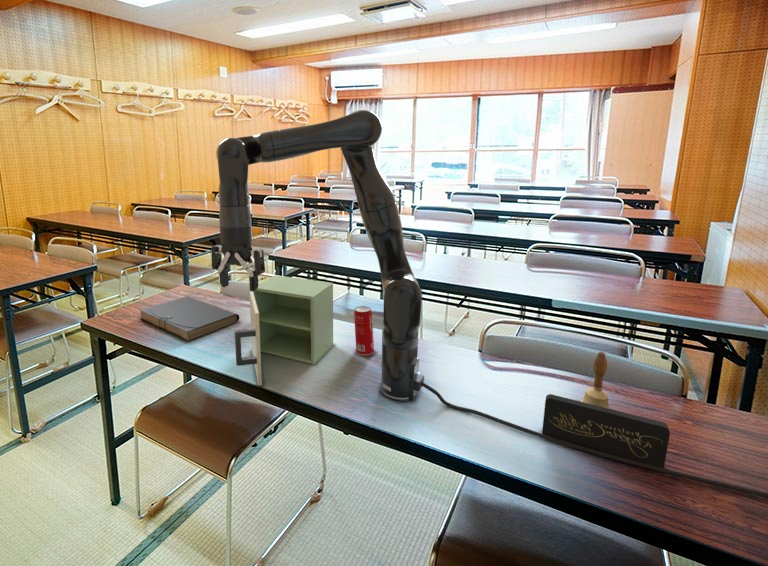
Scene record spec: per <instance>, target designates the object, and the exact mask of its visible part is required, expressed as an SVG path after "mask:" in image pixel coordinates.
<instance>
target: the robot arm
mask: <svg viewBox="0 0 768 566" xmlns="http://www.w3.org/2000/svg"><path fill="white" fill-rule="evenodd" d="M382 131H383V124H382V121H381V119H380V118H379V116H378V115H377V114H375V112H372V111H370V110H368V109H359V110H355V111H352V112H351V113H349V114H347V115H343V116H341V117H338V118H335V119H331V120H328V121H323V122H319V123H315V124H314V123H313V124H308V125H301V126H295V127H288V128H282V129H281V128H280V129H276V130H270V131H264V132H261V133H258V134H254V135H247V136H239V137H228V138H225V139H223V140H222V141H220V142H219V143H218V145H217V147H216V149H215V158H216V160H217V168H218V177H219V183H218V199H219V200H218V203H219V211H218V221H219V235H220V236H219V237H220V243H221V244H215V245H213V246H211V269H212V270H216V271H217V272H218V275H219V284H220V286H221V288H227V287H228V286H229V284H230V281H229V279H230V278H229V271H228V269H229V267H230V266H237V267H242V269H243V270H245V271H246V273H247V274H248V275H249V277H248V282H249V283H248V285H249V289H250V291H252V292H253V291H255V290H257V288H258V284H259V276H260V275H262V274H264V273H266V265H265V264H266V263H265V253H264V249H263V248H262V247H261V248H258V249H253V247H252V240H253V233H252V216H251V215H252V213H251V207H250V194H249V193H250V191H249V184H248V180H249V165H251V166H252V165H255V164H259V163H274V162H279V161H285V160H289V159H294V158H297V157H298V158H299V157H302V156H305V155H309V154H313V153H316V152H320V151H325V150H330V149H340V151H341V153H342V155H343V158H344V161H345V163H346V165H347V168H348V170H349V174H350V177H351V182H352V186H353V189H354V190H353V191H354V193H355V197H356V201H357V205H358V210H359V212H360V217H361V220H362V223H363V226H364V230H365V232H366V235H367V237H368V240H369V242H370V245H371V247H372V248H373V251H374V253H375V255H376V258H377V262H378V267H379V273H380V277H381V285H382V293H383V294H382V295H383V313H382V315H383V317H382V324H381V325H382V331H381V332H382V333H381V334H382V335H381V336H382V337H381V378H380V379H381V382H380V392H381V394H382V395H383V396H384V397H386V398H388V399H391V400H393V401H400V402H404V401H405V402H407V401H411V402H413V401H414V400H415V398H416V396H417V394H418V392H421V389H422V388H424V389H426V390H428V391H430V392H431V393H432V394H434V395H435V396H436V397H437V398H438V400H439V401H440V402H441V404H443V405H444V406H446V407H448V408H450V409H453V410H456V411H460V412H465V413H469V414H472V415H476V416H479V417H481V418H484V419H488V420H491V421H493V422H495V423H499V424H500V425H503V426H506V427H508V428H512V429H515V430H517V431H521V432H523V433H526V434H529V435H532V436H534V437H538V438H540V439H543V440H545V441H550V442H553V443H556V444H559V445H562V446H565V447H569V448H572V449H575V450H578V451H581V452H584V453H588V454H592V455H595V456H599V457H602V458H606V459H609V460H612V461H616V462H620V463H622V464H623V463H624V464H628V465H632V466H634V467H639V468H643V469H646V470H650V471H653V470H654V471H653V472H657V471H658V473H662V474H666V475H670V476H674V477H678V478H683V479H686V480H691V481H695V482H700V483H704V484H708V485H712V486H715V487H720V488H725V489H728V490H732V491H737V492H740V493H741V492H742V493H745V494H750V495H754V496H758V497H763V498H766V499H768V492H766V491H763V490H759V489H755V488H752V487H751V488H750V487H746V486H742V485H737V484H733V483H730V482H724V481H720V480H716V479H712V478H708V477H703V476H698V475H694V474H690V473H686V472H682V471H678V470H673V469H670V468H666V467H664V468H660V467H656V466H653V465H649V464H646V463H642V462H638V461H634V460H630V459H626V458H623V457H619V456H615V455H612V454H608V453H604V452H601V451H597V450H594V449H590V448H587V447H583V446H580V445H577V444H573V443H570V442H567V441H564V440H560V439H557V438H554V437H551V436H548V435H545V434H542V432H538V431H536V430H532V429H529V428H527V427H524V426H521V425H518V424H515V423H511V422H509V421H507V420H504V419H501V418H498V417H496V416H492V415H491V414H488V413H484V412H482V411H479V410H475V409H472V408H468V407H464V406H463V407H462V406H458V405H454V404H452V403H450V402H449V401H447V400H446V399H444V397H443V396H442V395H441V394H440V393H439V392H438V391H437V390H436V389H435V388H433V387H432V386H430V385H428V384H427V383H425V375H423V374H420V358H419V357H418V356H419V355H418V353H419V351H418V350H419V331H420V326H421V318H422V317H421V316H422V299H423V298H422V296H423V295H422V289H421V286H420V285H419V283H418V280H417V278H416V277H415V275H414V272H413V270H412V268H411V265H410V262H409V260H408V257H407V254H406V251H405V250H406V249H405V245H404V234H403V226H402V225H403V224H402V220H401V219H402V218H401V216H400V211H399V208H398V203H397V201H396V197H395V194H394V193H393V191H392V189H391V187H390V186H389V184H388V182H387V180H386V179H385V177H384V176H383V174H382V173H381V171H380V169H379V167H378V165H377V162H376V158H375V154H374V149H373V146H374V145H375V144H376V143H377V142H378V141H379V139H380V138H381V136H382ZM222 255H223V256H224V257H223V258H222Z"/></svg>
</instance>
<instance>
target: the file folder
mask: <svg viewBox="0 0 768 566" xmlns="http://www.w3.org/2000/svg"><path fill="white" fill-rule="evenodd" d="M139 311H140V320H143V321H145V322H147V323H148V324H151V325H153V326H155V327H157V328H159V329H161V330H163V331H166V332H167V333H170V334H172V335H173V336H176V337H178V338H180V339H182V340H184V341H187V342H190V341H192V340H196V339H197V338H200V337H203V336H205V335H208V334H210V333H213V332H216V331H218V330H220V329H223V328H225V327H228V326H231V325H233V324H235V323H238V322H239V320H240V314H238V313H235V312H233V311H229V310H227V309H224V308H222V307H218V306H216V305H213V304H210V303H207V302H204V301H202V300H199V299H197V298H193V297H190V296H183V297H179V298H176V299H172V300H169V301H165V302H162V303H158V304H155V305H152V306H149V307H146V308H142V309H140V310H139ZM143 317H144V318H143Z"/></svg>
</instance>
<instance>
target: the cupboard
mask: <svg viewBox="0 0 768 566" xmlns="http://www.w3.org/2000/svg"><path fill="white" fill-rule="evenodd" d="M253 293H254V297H255V301H256V304H257V308H258V312H259V328H260V352H261V353H265V354H269V355H274V356H279V357H282V358H287V359H290V360H295V361H299V362H303V363H308V364H311V365H315V364H316V363H318V361H319V360H321V358H322V357H323V356H324V355H325V354H326V353H327V352H328V351H329V350H330V349H331V348H332V347H333V346H334V283H333V282H328V281H322V280H314V279H306V278H298V277H292V276H285V275H277V274H276V275H274V276H271V277H269V278H268V279H265V280H264V281H261V282H260V283H259V282H258V288H257V290H255V291H253Z"/></svg>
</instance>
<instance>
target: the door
mask: <svg viewBox="0 0 768 566" xmlns="http://www.w3.org/2000/svg"><path fill="white" fill-rule="evenodd" d="M248 293H249V310H250V311H249V314H250V315H249V316H250V328H248V329H237V330H234V345H235V346H234V347H235V365H236V366H237V367H238V366H250V365H254V370H255V374H256V380H257V381H256V382H257V385H258V387H259V386H263V379H262V378H263V377H262V356H261V354H262V352H261V351H260V328H259V312H258V308H257V304H256V301H255V297H254V293H253V292H252V291H250V288H248ZM241 338H251V339H250V340H251V353H252V356H245V357H242V339H241Z"/></svg>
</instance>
